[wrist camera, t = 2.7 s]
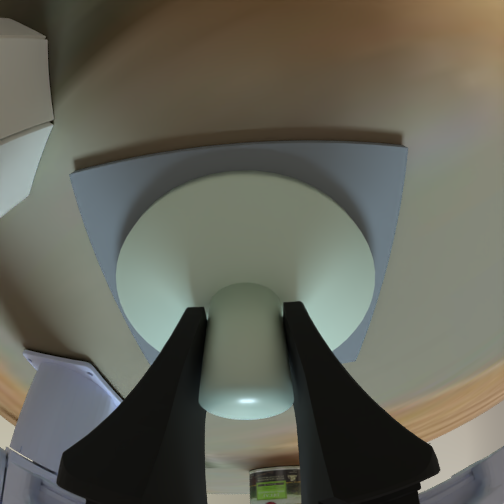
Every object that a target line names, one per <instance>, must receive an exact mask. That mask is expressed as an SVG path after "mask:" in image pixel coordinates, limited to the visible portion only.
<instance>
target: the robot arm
mask: <svg viewBox="0 0 504 504" xmlns="http://www.w3.org/2000/svg"><path fill="white" fill-rule="evenodd" d="M283 320H284V328H285V335H286V341H287V348H288V356H289V363H290V371H291V379H292V387H293V395H294V402H293V406H294V411H295V417H296V424H297V435H298V447H299V461H300V479H301V504H503V503H504V446H503V447H501V448H500V449H498V450H497V451H495V452H493V453H492V454H490V455H489V456H487V457H485V458H484V459H482V460H479V461H477V462H475V463H473V464H472V465H470V466H468V467H466V468H465V469H463V470H461V471H460V472H458V473H456V474H454V475H453V476H452V477H451V478H450V479H448V480H446V481H444V482H442V483H440V484H439V485H436V486H434V487H432V488H430V489H428V490H426V491H424V492H421V493H419V494H418V490H420V489H421V485H420V482H421V481H424V480H426V479H427V478H430V477H432V476H434V475H436V474H438V473H439V471H440V467H439V464H438V459H437V457H436V454H435V452H434V450H433V448H432V446H431V445H429V444H428V443H426V442H425V441H423V440H421V439H420V438H418V437H417V436H416V435H414V434H413V433H411V432H410V431H409V430H407V429H406V428H405V427H404V426H402V425H401V424H400V423H399V422H397V421H396V420H395V419H394V418H392V417H391V416H390V415H389V414H388V413H387V412H386V411H385V410H384V409H382V408H381V407H380V406H379V405H378V404H377V403H376V402H375V401H374V400H373V399H372V398H371V397H370V396H369V395H368V394H367V393H366V392H365V391H364V390H363V389H362V388H361V387H360V386H359V385H358V383H357V382H356V381H355V380H354V379H353V378H352V377H351V375H350V374H349V373H348V372H347V371H346V369H345V368H344V367H343V365H342V364H341V363H340V362H339V360H338V359H337V358H336V356H335V355H334V353H333V352H332V351H331V349H330V348H329V346H328V345H327V343H326V342H325V340H324V339H323V337H322V336H321V334H320V333H319V331H318V330H317V328H316V326H315V325H314V323H313V321H312V319H311V318H310V316H309V314H308V312H307V310H306V308H305V306H304V304H303V303H302V302H301V301H295V302H283ZM206 328H207V317H206V313H205V309H204V307H187V308H186V309H185V311H184V313H183V315H182V317H181V319H180V320H179V322H178V324H177V326H176V327H175V329H174V331H173V332H172V334H171V336H170V337H169V339H168V341H167V342H166V344H165V345H164V347H163V349H162V350H161V352H160V353H159V355H158V356H157V358H156V359H155V361H154V362H153V364H152V365H151V366H150V368H149V369H148V371H147V372H146V373H145V375H144V376H143V377H142V379H141V380H140V381H139V383H138V384H137V385H136V386H135V388H134V389H133V390H132V391H131V392H130V394H129V395H128V396H127V397H126V398H125V399H124V400H122V399H121V398H120V397H119V396H118V395H117V394H116V392H115V391H114V390H113V389H112V388H111V387H110V386H109V385H108V383H107V382H106V381H105V380H104V379H103V378H102V376H101V375H100V374H99V373H98V372H97V370H96V369H95V368H94V367H93V366H92V365H91V364H90V363H88V362H84V361H78V360H72V359H67V358H62V357H56V356H52V355H47V354H42V353H38V352H34V351H30V350H24V351H23V355H24V356H25V358H26V359H27V360H28V361H29V362H30V363H31V365H32V366H33V367H34V368H35V369H36V370H37V372H36V375H35V377H34V379H33V382H32V384H31V386H30V389H29V391H28V394H27V396H26V399H25V401H24V404H23V407H22V410H21V412H20V415H19V418H18V421H17V424H16V427H15V430H14V434H13V437H12V440H11V444H10V447H11V448H13V449H14V450H16V451H18V452H19V453H21V454H22V455H24V456H26V457H27V458H29V459H31V460H33V462H32V461H30V460H28V459H26V458H24V457H23V456H21V455H19V454H17V453H16V452H14V451H12V450H11V449H9V448H8V447H6V450H3V449H2V448H0V504H207V494H206V479H205V418H206V410H205V409H204V408H202V407H201V405H200V404H199V400H198V399H199V389H200V380H201V370H202V361H203V353H204V344H205V336H206Z"/></svg>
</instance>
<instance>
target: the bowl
mask: <svg viewBox="0 0 504 504" xmlns="http://www.w3.org/2000/svg"><path fill="white" fill-rule="evenodd" d="M45 38H46V36H44V35H42V34H40V33H39V32H37V31H35V30H33V29H31V28H29V27H27V26H25V25H23V24H21V23H19V22H16V21H14V20H12V19H10V18H0V218H1V217H2V216H4V215H5V214H6V213H7V212H8V211H10V210H11V209H12V208H14V207H15V206H16V205H17V204H19V203H20V202H21V201H23V200H24V199H25V198H27V196H28V195H29V193H30V190H31V186H32V183H33V179H34V176H35V173H36V170H37V167H38V164H39V161H40V158H41V155H42V152H43V150H44V147H45V144H46V142H47V139H48V137H49V134H50V132H51V129H52V127H53V124H52V123H50V121H52V120H54V115H53V109H52V101H51V92H50V82H49V68H48V40H45Z"/></svg>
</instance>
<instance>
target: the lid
mask: <svg viewBox="0 0 504 504" xmlns="http://www.w3.org/2000/svg"><path fill="white" fill-rule="evenodd" d="M116 286H117V292H118V296H119V300H120V303H121V306H122V308H123V310H124V313H125V315H126V316H127V318H128V320H129V321H130V323H131V325H132V326H133V327H134V328H135V330H136V331H137V332H138V333H139V335H140V336H141V337H142V338H143V339H144V340H145V341H146V342H147V343H149V344H150V345H151V346H152V347H154V348H155V349H156V350H157V351H159V352H161V350H162V349H163V347H164V345H165V344H166V342H167V341H168V339H169V337H170V336H171V334H172V332H173V331H174V329H175V327H176V326H177V324H178V322H179V320H180V319H181V317H182V315H183V313H184V311H185V309H186V308H187V307H204V309H205V313H206V317H207V328H206V336H205V344H204V353H203V361H202V370H201V380H200V389H199V399H198V400H199V404H200V405H201V407H202V408H204V409H205V410H206V411H208V412H210V413H212V414H214V415H217V416H220V417H224V418H230V419H238V420H254V419H262V418H268V417H272V416H275V415H278V414H280V413H282V412H284V411H286V410H287V409H289V408H290V407H291V406H292V404H293V402H294V395H293V387H292V379H291V371H290V363H289V356H288V348H287V341H286V335H285V328H284V320H283V302H295V301H301V302H302V303H303V304H304V306H305V308H306V310H307V312H308V314H309V316H310V318H311V319H312V321H313V323H314V325H315V326H316V328H317V330H318V331H319V333H320V334H321V336H322V337H323V339H324V340H325V342H326V343H327V345H328V346H329V348H330V349H331V351H333V350H335V349H336V348H337V347H339V346H340V345H341V344H342V343H343V342H344V341H345V340H347V339H348V337H349V336H350V335H351V334H352V333H353V332H354V331H355V330H356V328H357V327H358V326H359V324H360V323H361V321H362V320H363V318H364V316H365V314H366V312H367V311H368V308H369V306H370V303H371V300H372V297H373V292H374V287H375V268H374V261H373V257H372V254H371V251H370V248H369V245H368V243H367V241H366V240H365V238H364V236H363V234H362V232H361V231H360V229H359V228H358V227H357V225H356V224H355V222H354V221H353V220H352V218H351V217H350V216H349V215H348V214H347V212H346V211H345V210H344V209H343V208H342V207H341V206H340V205H339V204H338V203H337V202H335V201H334V200H333V199H332V198H331V197H330V196H328V195H326V194H325V193H323V192H322V191H320V190H318V189H317V188H315V187H314V186H311V185H309V184H307V183H304V182H302V181H300V180H297V179H295V178H291V177H288V176H284V175H280V174H276V173H270V172H262V171H254V170H248V171H227V172H221V173H215V174H209V175H206V176H203V177H200V178H197V179H193V180H190V181H188V182H186V183H184V184H182V185H180V186H178V187H176V188H174V189H172V190H170V191H169V192H167V193H166V194H165V195H163V196H162V197H160V198H159V199H157V200H156V201H155V202H154V203H153V204H152V205H151V206H150V207H149V208H148V209H147V210H146V211H145V212H144V213H143V214H142V216H141V217H140V219H139V220H138V221H137V223H136V224H135V225H134V227H133V228H132V230H131V231H130V233H129V234H128V235H127V237H126V239H125V242H124V244H123V246H122V248H121V250H120V254H119V257H118V261H117V268H116Z"/></svg>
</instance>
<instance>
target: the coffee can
mask: <svg viewBox="0 0 504 504" xmlns="http://www.w3.org/2000/svg"><path fill="white" fill-rule="evenodd" d="M249 474H250V504H301V479H300V466H280V467H268V468H260V469H255V470H251V471H250V472H249Z"/></svg>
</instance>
